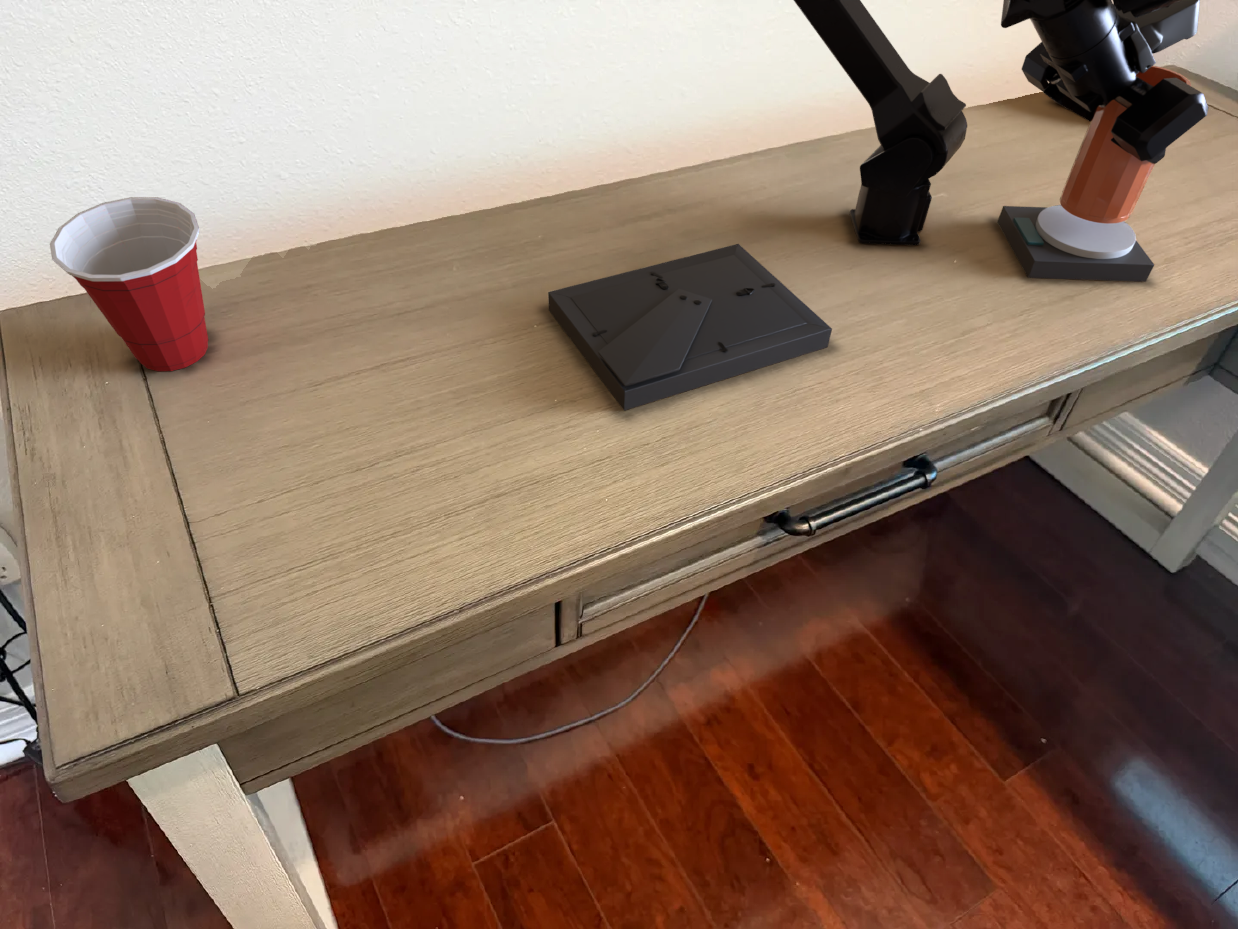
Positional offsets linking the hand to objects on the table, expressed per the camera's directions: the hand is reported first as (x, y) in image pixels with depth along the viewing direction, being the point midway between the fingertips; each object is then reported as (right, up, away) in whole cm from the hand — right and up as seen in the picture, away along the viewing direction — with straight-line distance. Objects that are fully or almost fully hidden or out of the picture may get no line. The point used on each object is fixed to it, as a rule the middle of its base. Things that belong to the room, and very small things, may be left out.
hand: (1134, 142), depth 87 cm
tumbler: (-2, -5, +4) cm, 7 cm away
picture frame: (-44, -19, -4) cm, 48 cm away
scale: (-3, -9, +7) cm, 12 cm away
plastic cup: (-89, -22, -9) cm, 92 cm away
